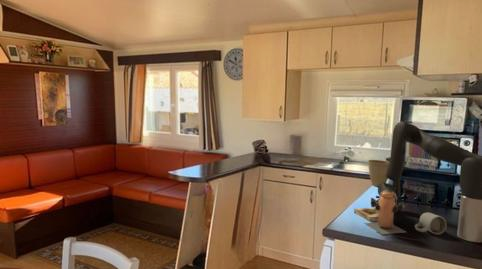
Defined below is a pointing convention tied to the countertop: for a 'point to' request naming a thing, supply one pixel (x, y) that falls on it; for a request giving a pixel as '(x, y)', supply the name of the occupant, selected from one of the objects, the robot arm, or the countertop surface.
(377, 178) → the plant pot
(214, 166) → the countertop surface
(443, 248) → the countertop surface
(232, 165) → the countertop surface
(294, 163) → the countertop surface
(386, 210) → the peach capped cylinder
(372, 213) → the holder
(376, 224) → the mat
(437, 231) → the ceramic mug
